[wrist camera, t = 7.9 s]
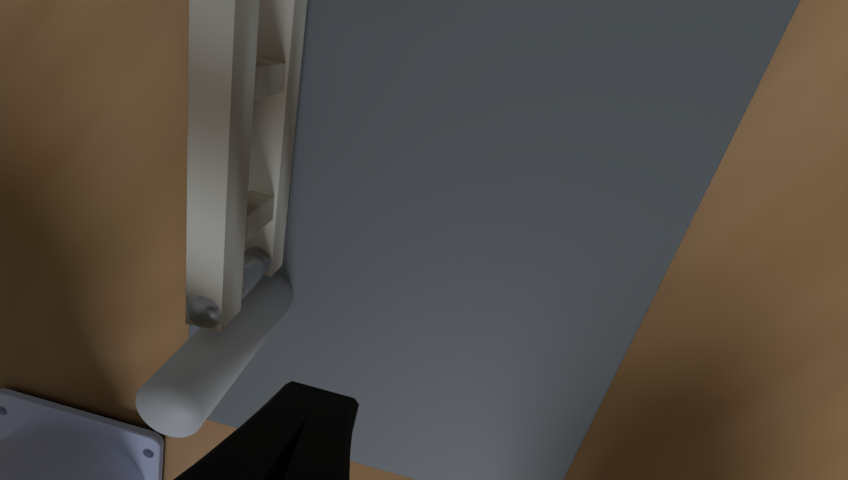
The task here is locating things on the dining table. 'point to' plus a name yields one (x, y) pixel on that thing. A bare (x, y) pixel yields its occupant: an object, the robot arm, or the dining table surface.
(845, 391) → the dining table surface
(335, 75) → the gate frame
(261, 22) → the gate
